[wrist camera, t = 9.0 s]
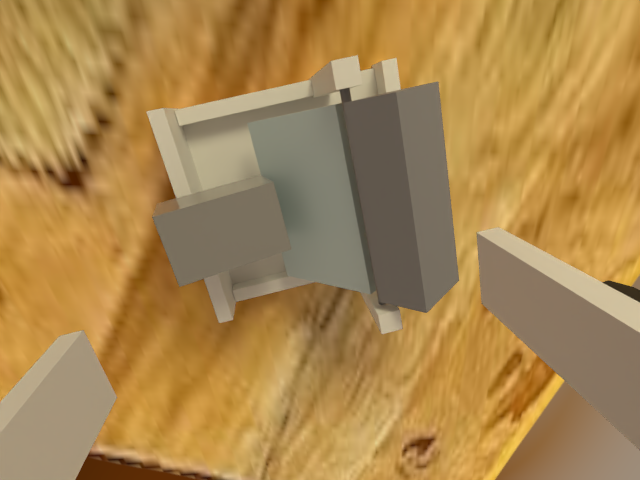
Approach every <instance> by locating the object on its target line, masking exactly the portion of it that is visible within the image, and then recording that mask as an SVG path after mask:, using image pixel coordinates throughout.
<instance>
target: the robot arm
mask: <svg viewBox="0 0 640 480" xmlns="http://www.w3.org/2000/svg"><path fill="white" fill-rule="evenodd" d="M477 245H478V259H479V273H480V287H481V300H482V304H483V305H484V306H485V307H486V308H487V309H488V310H489V311H490V312H492V313H493V314H494V315H495V316H496V317H497V318H498V319H499V320H500V321H501V322H502V323H503V324H504V325H506V326H507V327H508V328H509V329H510V330H511V331H512V332H513V333H514V334H515V335H516V336H517V337H518V338H519V339H521V340H522V341H523V342H524V343H525V344H526V345H527V346H528V347H529V348H530V349H531V350H532V351H533V352H535V353H536V354H537V355H538V356H539V357H540V358H541V359H542V360H543V361H544V362H545V363H546V364H547V365H549V366H550V367H551V368H552V369H553V370H554V371H555V372H556V373H557V374H558V375H559V376H560V377H561V378H562V379H564V380H565V381H566V382H567V383H568V384H569V385H570V386H571V387H572V388H573V389H574V390H575V391H577V392H578V393H579V394H580V395H581V396H582V397H583V398H584V399H585V400H586V401H587V402H588V403H589V404H590V405H592V406H593V407H594V408H595V409H596V410H597V411H598V412H599V413H600V414H601V415H602V416H603V417H604V418H606V419H607V420H608V421H609V422H610V423H611V424H612V425H613V426H614V427H615V428H616V429H617V430H618V431H619V432H621V433H622V434H623V435H624V436H625V437H626V438H627V439H628V440H629V441H630V442H631V443H632V444H633V445H635V446H636V447H637V448H638V449H639V450H640V290H638V289H636V288H634V287H631V286H627V285H623V284H620V283H616V282H612V281H605V282H600V281H598V280H597V279H595V278H593V277H591V276H589V275H587V274H585V273H583V272H582V271H580V270H578V269H576V268H574V267H572V266H570V265H568V264H567V263H565V262H563V261H561V260H559V259H557V258H555V257H553V256H552V255H550V254H548V253H546V252H544V251H542V250H540V249H538V248H537V247H535V246H533V245H531V244H529V243H527V242H525V241H523V240H522V239H520V238H518V237H516V236H514V235H512V234H510V233H508V232H507V231H505V230H503V229H501V228H499V227H497V228H493V229H489V230H485V231H480V232H477ZM116 398H117V396H116V394H115V392H114V390H113V388H112V386H111V384H110V382H109V380H108V378H107V376H106V374H105V372H104V370H103V368H102V366H101V364H100V362H99V360H98V358H97V356H96V354H95V352H94V350H93V348H92V346H91V344H90V342H89V340H88V338H87V336H86V334H85V332H84V330H82V331H78V332H74V333H70V334H66V335H62V336H59V337H58V338H57V339H56V340H55V341H54V343H53V344H52V345H51V346H50V347H49V348H48V349H47V350H46V352H45V353H44V354H43V355H42V356H41V357H40V358H39V359H38V360H37V362H36V363H35V364H34V365H33V366H32V367H31V368H30V369H29V371H28V372H27V373H26V374H25V375H24V376H23V377H22V378H21V380H20V381H19V382H18V383H17V384H16V385H15V386H14V387H13V389H12V390H11V391H10V392H9V393H8V394H7V395H6V396H5V397H4V399H3V400H2V401H1V402H0V480H75V479H76V477H77V475H78V473H79V471H80V469H81V467H82V465H83V463H84V461H85V459H86V457H87V455H88V453H89V451H90V449H91V448H92V446H93V444H94V442H95V440H96V438H97V436H98V434H99V432H100V430H101V428H102V426H103V424H104V422H105V420H106V418H107V416H108V414H109V412H110V410H111V408H112V406H113V404H114V402H115V400H116Z"/></svg>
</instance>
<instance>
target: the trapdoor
mask: <svg viewBox="0 0 640 480" xmlns="http://www.w3.org/2000/svg"><path fill="white" fill-rule="evenodd" d="M344 107H345V112H346V118H347V123H348V129H349V134H350V140H351V145H352V151H353V156H354V161H355V167H356V172H357V178H358V183H359V189H360V194H361V200H362V205H363V211H364V216H365V222H366V227H367V233H368V238H369V244H370V249H371V255H372V260H373V266H374V271H375V277H376V282H377V288H378V293H379V299H380V302H383V303H387V304H391V305H395V306H400V307H404V308H408V309H412V310H416V311H421V312H425V313H427V312H428V311H429V310H430V309H431V308H432V307H433V306H434V305H435V304H436V303H437V302H438V301H439V300H440V299H441V298H442V297H443V296H444V295H445V294H446V293H447V292H448V291H449V290H450V289H451V288H452V287H453V286H454V285H455V284H456V283H457V282H458V281H459V276H458V266H457V257H456V247H455V238H454V228H453V218H452V209H451V199H450V190H449V180H448V170H447V161H446V151H445V141H444V132H443V122H442V113H441V103H440V93H439V84H438V82H434V83H429V84H424V85H420V86H415V87H410V88H405V89H401V90H396V91H391V92H387V93H383V94H379V95H375V96H371V97H366V98H362V99H358V100H354V101H350V102H346V103H344ZM247 124H248V128H249V132H250V135H251V139H252V143H253V147H254V151H255V154H256V158H257V162H258V166H259V169H260V173H261V175H262V176H264V177H265V178H267V179H269V180H271V181H273V182H274V186H275V190H276V193H277V197H278V201H279V204H280V208H281V212H282V215H283V219H284V223H285V227H286V230H287V234H288V238H289V241H290V245H291V250H288V251H285V252H282V256H283V260H284V264H285V268H286V272H287V275H288V276H291V277H296V278H300V279H305V280H309V281H313V282H318V283H322V284H327V285H331V286H336V287H340V288H344V289H349V290H353V291H358V292H362V293H367V294H372V293H373V292H375V291H376V286H375V281H374V275H373V270H372V265H371V259H370V254H369V248H368V243H367V237H366V232H365V226H364V221H363V216H362V210H361V205H360V199H359V194H358V188H357V183H356V177H355V172H354V167H353V161H352V156H351V150H350V145H349V139H348V134H347V128H346V123H345V118H344V112H343V107H342V103H339V104H334V105H330V106H325V107H320V108H315V109H311V110H306V111H301V112H297V113H292V114H287V115H282V116H278V117H273V118H268V119H263V120H259V121H254V122H250V123H247Z"/></svg>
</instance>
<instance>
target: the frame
mask: <svg viewBox="0 0 640 480" xmlns="http://www.w3.org/2000/svg"><path fill="white" fill-rule="evenodd" d="M396 90H401V88H400V81H399V73H398V66H397V58H393V59H389V60H384V61H381V62H379V63H376V64H374V65H372V69H367V70H363V71H360V66H359V60H358V55H356V56H352V57H347V58H343V59H338V60H334V61H330V62H329V63H328V64H327V65H326V66H324V67H323V68H322V69H321V70H320V71H318V72H317V73H316V74H315V75H314V76H312V77H311V78H310V79H309V80H308V81H303V82H299V83H294V84H290V85H285V86H281V87H276V88H272V89H267V90H263V91H258V92H254V93H249V94H245V95H240V96H236V97H231V98H227V99H223V100H218V101H214V102H209V103H205V104H200V105H196V106H191V107H187V108H182V109H175V108H161V109H156V110H152V111H147V115H148V118H149V121H150V124H151V127H152V129H153V132H154V135H155V138H156V141H157V144H158V147H159V150H160V153H161V156H162V159H163V161H164V164H165V167H166V170H167V173H168V176H169V179H170V182H171V185H172V188H173V191H174V193H175V196H176V198H179V197H182V196H186V195H190V194H193V193H197V192H200V191H204V190H207V189H211V188H214V187H218V186H221V185H225V184H229V183H232V182H236V181H239V180H243V179H246V178H250V177H253V176H257V175H261V173H260V169H259V166H258V162H257V158H256V154H255V151H254V147H253V143H252V139H251V135H250V132H249V128H248V124H247V123H250V122H254V121H259V120H263V119H268V118H273V117H278V116H282V115H287V114H292V113H297V112H301V111H306V110H311V109H315V108H320V107H325V106H330V105H334V104H339V103H342V107H343V112H344V118H345V123H346V128H347V134H348V139H349V145H350V150H351V156H352V161H353V167H354V172H355V177H356V183H357V188H358V194H359V199H360V205H361V210H362V216H363V221H364V226H365V232H366V237H367V243H368V248H369V254H370V259H371V265H372V270H373V275H374V281H375V286H376V291H375V292H373V293H372V294H367V293H362V292H360V293H361V295H362V297H363V299H364V301H365V303H366V305H367V307H368V309H369V310H370V312H371V314H372V316H373V318H374V320H375V322H376V324H377V326H378V328H379V330H380V332H381V334H385V333H389V332H393V331H397V330H400V329H403V328H402V321H401V315H400V310H399V308H398V307H397V306H395V305H391V304H387V303H383V302H380V299H379V293H378V288H377V282H376V277H375V271H374V266H373V260H372V255H371V249H370V244H369V238H368V233H367V227H366V222H365V216H364V211H363V205H362V200H361V194H360V189H359V183H358V178H357V172H356V167H355V161H354V156H353V151H352V145H351V140H350V134H349V129H348V123H347V118H346V112H345V107H344V103H346V102H350V101H354V100H358V99H362V98H366V97H371V96H375V95H379V94H383V93H387V92H391V91H396ZM204 281H205V284H206V287H207V289H208V292H209V295H210V298H211V301H212V304H213V307H214V310H215V313H216V316H217V318H218V321H219V323H222V322H226V321H230V320H233V317H234V311H235V305H236V302H238V301H242V300H246V299H250V298H254V297H258V296H262V295H266V294H270V293H274V292H278V291H282V290H286V289H290V288H294V287H298V286H302V285H306V284H310V283H314V282H313V281H309V280H305V279H300V278H296V277H291V276H288V275H287V272H286V268H285V264H284V260H283V256H282V253H279V254H276V255H273V256H270V257H267V258H264V259H261V260H258V261H255V262H252V263H249V264H246V265H243V266H240V267H237V268H234V269H231V270H228V271H225V272H222V273H219V274H216V275H214V276H211V277H208V278H205V279H204Z"/></svg>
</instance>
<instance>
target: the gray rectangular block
mask: <svg viewBox="0 0 640 480" xmlns="http://www.w3.org/2000/svg"><path fill="white" fill-rule="evenodd" d="M152 218H153V220H154V223H155V225H156V228H157V230H158V233H159V236H160V238H161V241H162V243H163V246H164V248H165V251H166V254H167V256H168V259H169V261H170V264H171V266H172V269H173V271H174V274H175V277H176V279H177V282H178V284H179V287H181V286H184V285H187V284H190V283H193V282H196V281H199V280H202V279H205V278H208V277H211V276H214V275H216V274H219V273H222V272H225V271H228V270H231V269H234V268H237V267H240V266H243V265H246V264H249V263H252V262H255V261H258V260H261V259H264V258H267V257H270V256H273V255H276V254H279V253H282V252H285V251H288V250H291V245H290V241H289V238H288V234H287V230H286V227H285V223H284V219H283V215H282V212H281V208H280V204H279V201H278V197H277V193H276V190H275V186H274V182H273V181H271V180H269V179H267V178H265V177H264V176H262V175H257V176H253V177H250V178H246V179H243V180H239V181H236V182H232V183H229V184H225V185H221V186H218V187H214V188H211V189H207V190H204V191H200V192H197V193H193V194H190V195H186V196H182V197H179V198H175V199H172V200H168V201H165V202H161V203H158V204H157V205H156V208H155V211H154V214H153V216H152Z"/></svg>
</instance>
